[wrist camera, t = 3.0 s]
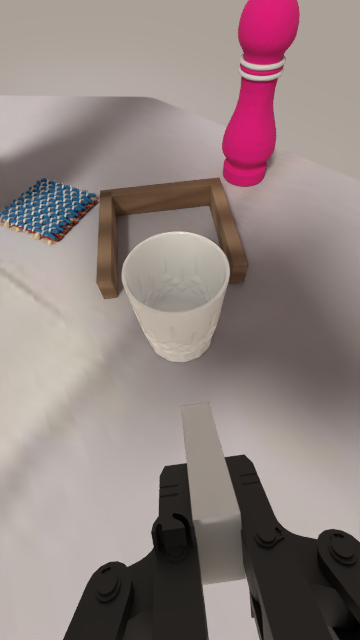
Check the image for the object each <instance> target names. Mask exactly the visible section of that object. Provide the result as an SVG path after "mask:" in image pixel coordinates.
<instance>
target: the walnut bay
mask: <svg viewBox="0 0 360 640" xmlns="http://www.w3.org/2000/svg"><path fill="white" fill-rule="evenodd" d="M208 205H209V206H210V210H211V213H212V217H213V221H214V224H215V228H216V232H217V235H218V239H219V243H220V246H221V250H222V251H223V252H224V254H225V255H226V257H227V260H228V262H229V267H230V277H229V279H230V283H239V282H244V278H245V274H246V270H247V267H248V262H247V259H246V256H245V253H244V250H243V247H242V244H241V241H240V238H239V235H238V232H237V229H236V226H235V223H234V220H233V217H232V214H231V211H230V208H229V205H228V202H227V199H226V196H225V192H224V189H223V186H222V183H221V180H220V178H211V179H202V180H193V181H184V182H175V183H166V184H157V185H147V186H138V187H129V188H120V189H111V190H102V191H100V210H99V234H98V258H97V284H98V287H99V289H100V291H101V293H102V295H103V297H104V299H107V298H116V297H118V281H117V216H119V215H128V214H137V213H146V212H155V211H164V210H172V209H181V208H190V207H199V206H208Z"/></svg>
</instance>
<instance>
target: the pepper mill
mask: <svg viewBox="0 0 360 640" xmlns="http://www.w3.org/2000/svg"><path fill="white" fill-rule="evenodd" d="M298 25H299V6H298V2H297V0H249V1H248V2H247V4H246V5H245V7H244V9H243V12H242V14H241V18H240V22H239V28H238V38H239V42H240V45H241V47H242V49H243V52H244V54H243V55H242V56H241V57H240V67H239V74H240V75H241V76H242V78H241V89H240V95H239V100H238V103H237V106H236V109H235V111H234V113H233V116H232V118H231V120H230V122H229V124H228V126H227V128H226V131H225V134H224V137H223V143H222V150H223V153H224V155H225V157H226V159H225V161H224V167H223V176H224V178H225V179H226V180H227V181H228V182H229V183H231V184H233V185H237V186H252V185H256V184H258V183H259V182H261V181H262V179H263V178H264V175H265V171H266V167H267V163H266V160H268V159H269V158H270V157H271V155H272V154H273V152H274V149H275V142H276V127H275V120H274V112H273V99H274V93H275V87H276V83H277V80H278V77H280V76H281V75H282V73H283V66H284V64H285V61H286V58H285V56H284V53H285V51H286V50H287V49H288V48H289V47H290V45H291V44H292V42H293V41H294V39H295V37H296V33H297V30H298Z"/></svg>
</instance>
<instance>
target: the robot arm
mask: <svg viewBox="0 0 360 640" xmlns="http://www.w3.org/2000/svg"><path fill="white" fill-rule="evenodd" d="M181 410H182V420H183V429H184V439H185V449H186V459H187V463H185V464H178V465H170V466H165V467H164V469H163V471H162V473H161V475H160V489H159V517H158V518H157V519H156V521H155V522H154V524H153V527H152V531H151V534H152V539H153V545H154V548H153V549H152V551H151V552H150V553H149V554H148V555H147V556H146V557H145V558H143V559H142V560H140V561H138V562H136V563H135V564H133V565H131V566H129V567H127V566H126V565H125V564H123V563H121V562H118V561H116V562H109V563H107V564H105V565H103V566H101V567H100V568H99V569H98V570H97V571H96V572H95V573H94V574H93V575H92V577H91V578H90V580H89V582H88V583H87V585H86V588H85V590H84V592H83V595H82V597H81V599H80V602H79V604H78V606H77V609H76V611H75V613H74V616H73V618H72V620H71V623H70V625H69V627H68V629H67V632H66V634H65V636H64V639H63V640H209V638H208V629H207V620H206V612H205V603H204V596H203V587H202V585H207V584H213V583H220V582H227V581H234V580H241V579H246V577H247V581H248V585H249V590H250V604H251V616H252V618H255V622H256V626H257V630H258V634H259V639H260V640H360V542H359V541H358V540H356V539H355V538H354V537H353V536H352V535H350V534H348V533H346V532H344V531H341V530H335V529H330V530H325V531H323V532H322V533H321V534H320V535H319V537H318V539H313V538H308V537H302V536H299V535H296V534H293V533H291V532H289V531H288V530H286V529H285V528H284V527H283V526H282V525H281V524H280V523H279V522H278V521H277V519H276V517H275V515H274V513H273V510H272V508H271V506H270V503H269V501H268V498H267V496H266V494H265V491H264V489H263V486H262V484H261V482H260V479H259V477H258V475H257V472H256V470H255V467H254V465H253V463H252V462H251V461H250V460H249V459H248V458H247V457H246V456H245V455H238V456H230V457H224V454H223V451H222V447H221V444H220V440H219V437H218V433H217V430H216V427H215V423H214V420H213V416H212V413H211V409H210V406H209V402H208V403H200V404H193V405H185V406H181ZM245 573H246V575H245Z"/></svg>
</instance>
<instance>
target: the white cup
mask: <svg viewBox="0 0 360 640" xmlns="http://www.w3.org/2000/svg"><path fill="white" fill-rule="evenodd" d="M229 277H230V267H229V262H228V260H227V257H226V255H225V254H224V252H223V251H222V250H221V248H220V247H219V246H218V245H216V244H215V243H214V242H213V241H211V240H209V239H208V238H206V237H203V236H201V235H198V234H195V233H190V232H182V231H174V232H165V233H161V234H157V235H154V236H152V237H149V238H147V239H145V240H144V241H142V242H141V243H139V244H138V245H137V246H136V247H134V248H133V249H132V251H131V252H130V253H129V254H128V256H127V257H126V259H125V261H124V264H123V267H122V283H123V286H124V289H125V291H126V293H127V296H128V298H129V300H130V303H131V305H132V307H133V310H134V312H135V315H136V317H137V319H138V321H139V323H140V325H141V327H142V330H143V332H144V334H145V336H146V337H147V339H148V342H149V343H150V345H151V346H152V348H153V349H154V351H155V352H156V354H157V355H159V356H161V357H163V358H165V359H166V360H168V361H173V362H187V361H190V360H193V359H195V358H198V357H200V356H201V355H202V354H203V353H204V352H205V351H206V350H207V349H208V348H209V346H210V343H211V340H212V336H213V333H214V331H215V329H216V326H217V323H218V320H219V316H220V312H221V308H222V305H223V301H224V297H225V293H226V289H227V285H228V281H229Z"/></svg>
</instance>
